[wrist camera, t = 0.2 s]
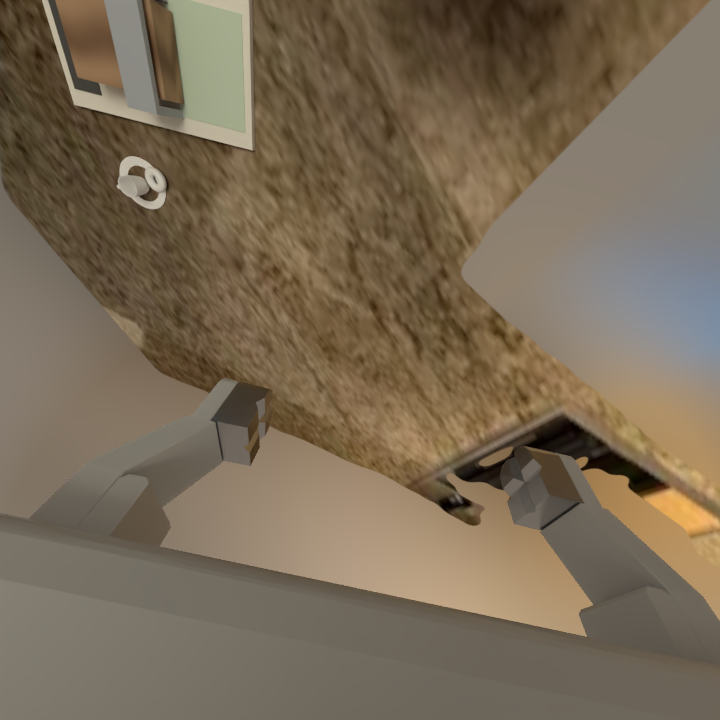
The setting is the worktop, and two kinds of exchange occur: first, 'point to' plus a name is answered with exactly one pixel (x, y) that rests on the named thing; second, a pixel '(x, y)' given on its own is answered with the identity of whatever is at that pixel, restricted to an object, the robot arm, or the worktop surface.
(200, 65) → the board
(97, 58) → the wood grain block
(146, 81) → the tunnel
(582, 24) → the worktop surface
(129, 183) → the white ring-shaped piece
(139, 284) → the worktop surface
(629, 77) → the worktop surface
